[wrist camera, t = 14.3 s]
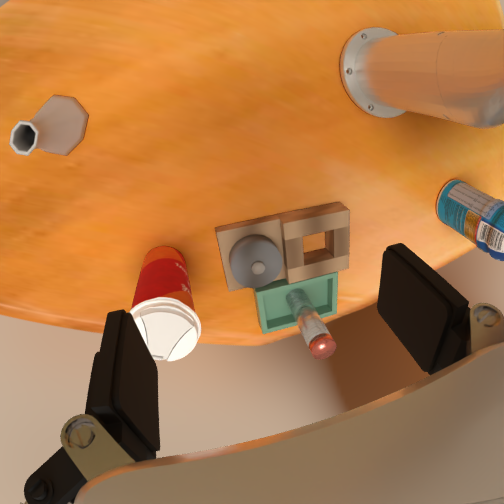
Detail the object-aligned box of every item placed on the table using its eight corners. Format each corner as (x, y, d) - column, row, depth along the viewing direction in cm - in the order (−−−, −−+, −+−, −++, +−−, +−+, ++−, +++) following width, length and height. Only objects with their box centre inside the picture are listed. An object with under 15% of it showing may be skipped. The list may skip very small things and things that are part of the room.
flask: (99, 111, 30) (71, 119, 21) (69, 165, 32) (37, 190, 23) (52, 84, 27) (13, 85, 18) (25, 138, 29) (-17, 156, 20)
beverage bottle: (453, 167, 43) (547, 216, 26) (471, 195, 47) (553, 245, 30) (426, 207, 46) (516, 269, 29) (447, 231, 49) (525, 291, 32)
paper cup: (184, 293, 44) (191, 369, 32) (131, 282, 41) (119, 357, 29) (200, 245, 41) (212, 314, 29) (142, 231, 38) (129, 298, 26)
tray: (330, 263, 47) (337, 271, 44) (330, 304, 51) (336, 313, 48) (252, 282, 45) (256, 292, 43) (259, 323, 49) (263, 334, 47)
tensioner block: (339, 201, 42) (355, 214, 38) (339, 258, 46) (353, 273, 43) (214, 227, 40) (219, 243, 36) (227, 285, 44) (232, 304, 41)
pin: (305, 286, 47) (337, 338, 37) (306, 302, 48) (335, 354, 38) (284, 291, 46) (312, 345, 37) (286, 307, 48) (312, 362, 38)
